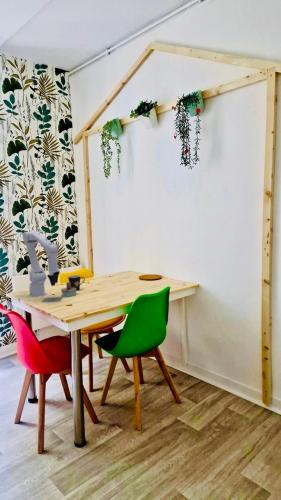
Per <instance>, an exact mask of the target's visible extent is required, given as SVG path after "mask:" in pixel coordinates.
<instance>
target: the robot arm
mask: <svg viewBox="0 0 281 500" xmlns="http://www.w3.org/2000/svg"><path fill="white" fill-rule="evenodd" d="M22 240H23V243H24V245H25V246H26V250H27V253H28V254H27V255H28V257H29V261H30V266H31V270H30V272H29V273H28V274H29V281H30V283H29V297H30V298H34V297H37V298H39V297H45V296H46V295H47V292H45V290H46V289H45V282H46V280H47V278H48V280H49V283H50V286H51V287H53V286H56V284H58V282H59V275H60V273H61V269H59V265H58V264H59V263H58V252H59V246H58V244H57V243H52V242H51V241H49V240H48V238H43V236H41V233H40V231H38V230H34V231H24V232H23V235H22ZM38 243H39V245H40V247H42V248H43V249H44V251H45V254H46V257H47V262H48V263H47V265H48V274H46V272H45V269H43V268H41V267H40V263H39V259H38V255H37V254H38V253H37V251H36V247H35V246H36V245H37V244H38Z"/></svg>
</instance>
